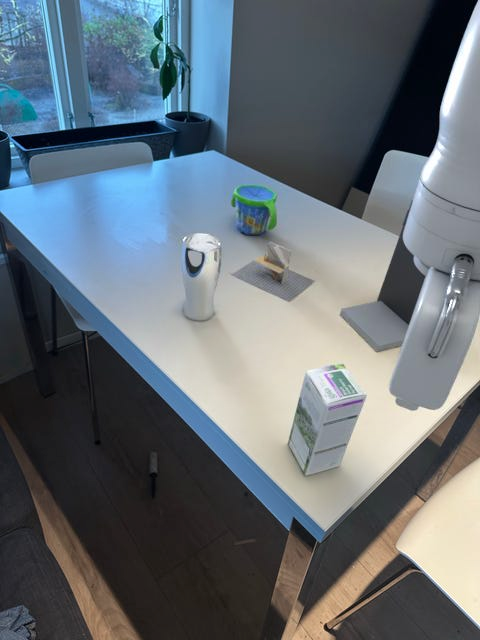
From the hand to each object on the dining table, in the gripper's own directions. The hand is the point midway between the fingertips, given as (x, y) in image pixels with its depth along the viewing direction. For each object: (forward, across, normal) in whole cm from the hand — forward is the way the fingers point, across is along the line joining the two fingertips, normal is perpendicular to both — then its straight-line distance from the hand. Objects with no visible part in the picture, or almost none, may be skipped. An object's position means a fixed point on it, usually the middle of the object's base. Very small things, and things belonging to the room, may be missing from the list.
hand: (416, 366), depth 40 cm
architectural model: (+27, +45, +31) cm, 61 cm away
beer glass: (+25, +24, +38) cm, 52 cm away
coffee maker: (+28, +42, +5) cm, 51 cm away
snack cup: (+27, +63, +46) cm, 83 cm away
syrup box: (+26, +5, +8) cm, 27 cm away
